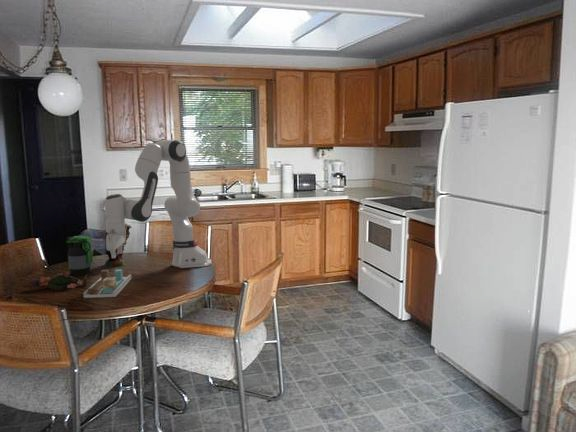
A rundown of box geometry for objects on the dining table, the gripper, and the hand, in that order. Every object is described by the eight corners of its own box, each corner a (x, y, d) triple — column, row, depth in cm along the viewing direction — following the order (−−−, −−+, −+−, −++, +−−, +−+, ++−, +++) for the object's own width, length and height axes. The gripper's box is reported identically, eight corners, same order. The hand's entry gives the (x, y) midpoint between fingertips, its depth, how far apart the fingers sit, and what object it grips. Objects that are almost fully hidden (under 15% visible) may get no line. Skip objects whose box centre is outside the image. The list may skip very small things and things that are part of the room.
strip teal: (124, 280, 229) (123, 269, 228) (111, 293, 209) (111, 281, 208) (115, 280, 229) (115, 269, 228) (102, 293, 209) (102, 281, 208)
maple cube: (116, 286, 215) (115, 277, 215) (113, 289, 211) (112, 280, 210) (106, 286, 215) (105, 277, 214) (103, 289, 211) (102, 280, 210)
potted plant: (92, 275, 242) (89, 238, 239) (66, 276, 241) (62, 239, 238) (99, 270, 253) (96, 234, 249) (74, 270, 252) (71, 234, 249)
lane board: (131, 278, 236) (131, 274, 236) (115, 296, 209) (115, 292, 208) (103, 279, 235) (103, 275, 235) (83, 297, 208) (83, 292, 207)
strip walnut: (110, 280, 229) (110, 269, 228) (97, 293, 209) (96, 281, 208) (102, 280, 228) (101, 269, 227) (88, 294, 209) (87, 281, 208)
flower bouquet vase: (98, 267, 258) (94, 214, 253) (113, 260, 273) (110, 210, 268) (122, 268, 255) (119, 215, 250) (137, 261, 270) (134, 211, 265)
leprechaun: (85, 284, 219) (26, 284, 211) (85, 298, 224) (27, 298, 216) (87, 268, 227) (30, 267, 219) (87, 281, 232) (32, 281, 224)
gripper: (115, 231, 213) (117, 260, 215) (127, 224, 233) (128, 251, 235) (101, 231, 213) (103, 260, 215) (114, 224, 233) (116, 251, 235)
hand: (116, 255), depth 225 cm, fingers open, 8 cm apart
